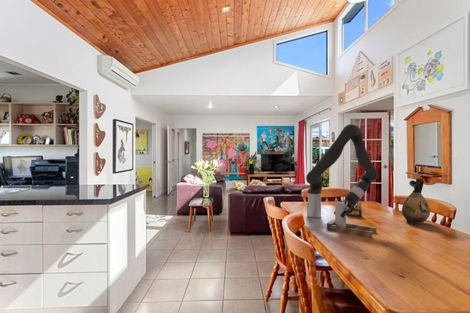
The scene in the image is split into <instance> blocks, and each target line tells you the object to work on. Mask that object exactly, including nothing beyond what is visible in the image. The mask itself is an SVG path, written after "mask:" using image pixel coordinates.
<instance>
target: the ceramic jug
mask: <svg viewBox="0 0 470 313" xmlns="http://www.w3.org/2000/svg"><path fill="white" fill-rule="evenodd" d="M424 182H425V181H424V178H422V177H417V178H416V179H415V180H413V179H412V180H410V181H409V183H408V184H409V186H410V187H412V188H413V191H412V192H411V193H410V195H408V196H407V197H406V199H404V201H403V203H402V207H401V213H402V216H403V217H404V218H405V220H406V221H405V222H406V223H407V224H411V225H412V224H413V225H418V224H420V225H424V223H425V222H426V221H427V220H428V219H429V217H430V216H431V215H430V214H431V209H430V206H429V203H428V201H427V200H426V199H425V197H424V195H423V194H422V191H423V188H424Z"/></svg>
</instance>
